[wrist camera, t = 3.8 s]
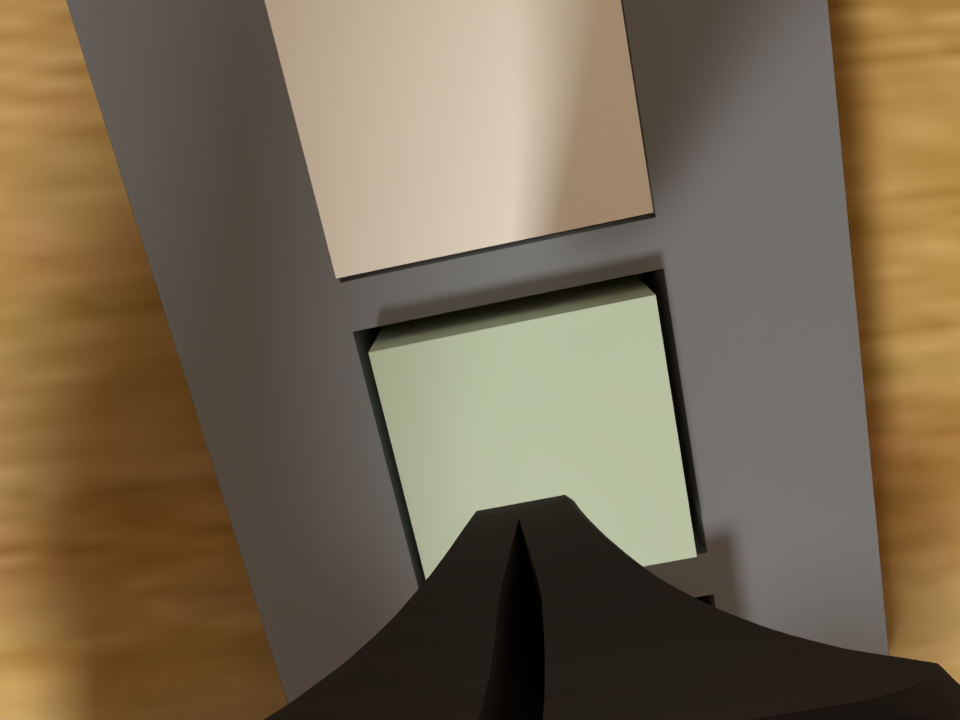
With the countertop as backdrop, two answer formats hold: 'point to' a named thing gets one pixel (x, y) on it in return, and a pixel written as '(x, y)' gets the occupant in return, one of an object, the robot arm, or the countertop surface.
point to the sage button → (538, 416)
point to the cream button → (460, 122)
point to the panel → (504, 276)
